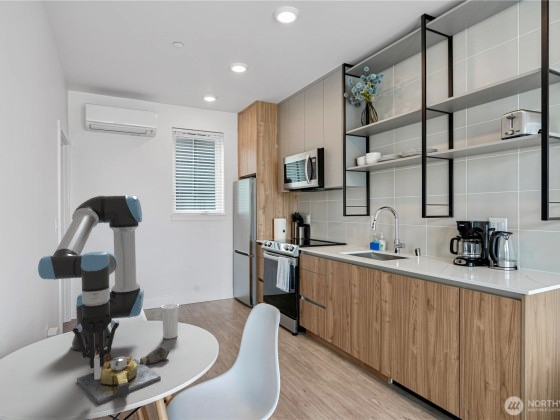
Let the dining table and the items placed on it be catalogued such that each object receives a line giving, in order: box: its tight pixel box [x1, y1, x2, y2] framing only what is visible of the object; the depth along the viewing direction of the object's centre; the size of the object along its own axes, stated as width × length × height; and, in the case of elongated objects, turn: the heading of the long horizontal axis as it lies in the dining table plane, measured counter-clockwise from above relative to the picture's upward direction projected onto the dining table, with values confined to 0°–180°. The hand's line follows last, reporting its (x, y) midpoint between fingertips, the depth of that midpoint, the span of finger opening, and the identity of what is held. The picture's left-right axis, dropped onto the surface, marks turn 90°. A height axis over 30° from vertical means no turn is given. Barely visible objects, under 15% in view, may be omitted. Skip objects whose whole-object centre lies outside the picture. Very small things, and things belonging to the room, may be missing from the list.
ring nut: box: [100, 356, 137, 398], centre depth 111 cm, size 20×11×4 cm, turn 31°
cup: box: [160, 302, 180, 340], centre depth 154 cm, size 8×8×14 cm
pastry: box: [95, 348, 112, 362], centre depth 130 cm, size 8×8×5 cm
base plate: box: [76, 355, 162, 405], centre depth 115 cm, size 21×20×7 cm
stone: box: [139, 345, 171, 366], centre depth 129 cm, size 10×5×8 cm
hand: (97, 377), depth 105 cm, fingers closed
